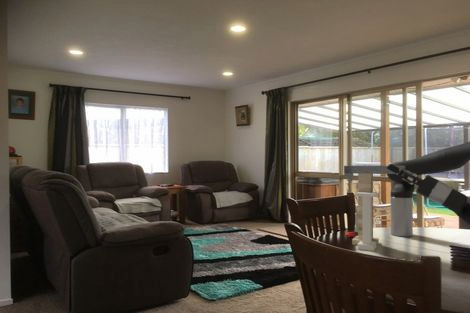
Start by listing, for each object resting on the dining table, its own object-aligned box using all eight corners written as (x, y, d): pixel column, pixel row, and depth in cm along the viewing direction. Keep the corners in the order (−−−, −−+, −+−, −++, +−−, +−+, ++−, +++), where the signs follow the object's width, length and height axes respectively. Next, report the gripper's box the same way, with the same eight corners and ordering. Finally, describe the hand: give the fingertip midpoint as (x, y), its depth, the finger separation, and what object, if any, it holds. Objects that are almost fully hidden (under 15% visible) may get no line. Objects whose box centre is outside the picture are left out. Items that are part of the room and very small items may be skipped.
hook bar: (345, 178, 150) (345, 165, 150) (405, 179, 139) (405, 165, 139) (344, 178, 147) (343, 165, 147) (404, 179, 136) (404, 165, 136)
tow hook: (344, 234, 173) (347, 237, 164) (344, 206, 174) (347, 208, 165) (362, 234, 172) (366, 238, 163) (362, 206, 172) (366, 208, 163)
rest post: (358, 245, 149) (358, 192, 149) (379, 248, 145) (379, 193, 145) (354, 248, 144) (354, 193, 144) (376, 251, 140) (376, 194, 140)
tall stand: (356, 240, 158) (356, 165, 158) (378, 242, 154) (378, 165, 154) (352, 244, 151) (352, 165, 151) (375, 247, 147) (375, 166, 147)
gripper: (440, 179, 138) (396, 157, 146) (439, 182, 126) (391, 157, 133) (429, 196, 140) (386, 173, 147) (427, 200, 128) (380, 175, 135)
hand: (389, 165), depth 140 cm, fingers closed on hook bar, 3 cm apart
